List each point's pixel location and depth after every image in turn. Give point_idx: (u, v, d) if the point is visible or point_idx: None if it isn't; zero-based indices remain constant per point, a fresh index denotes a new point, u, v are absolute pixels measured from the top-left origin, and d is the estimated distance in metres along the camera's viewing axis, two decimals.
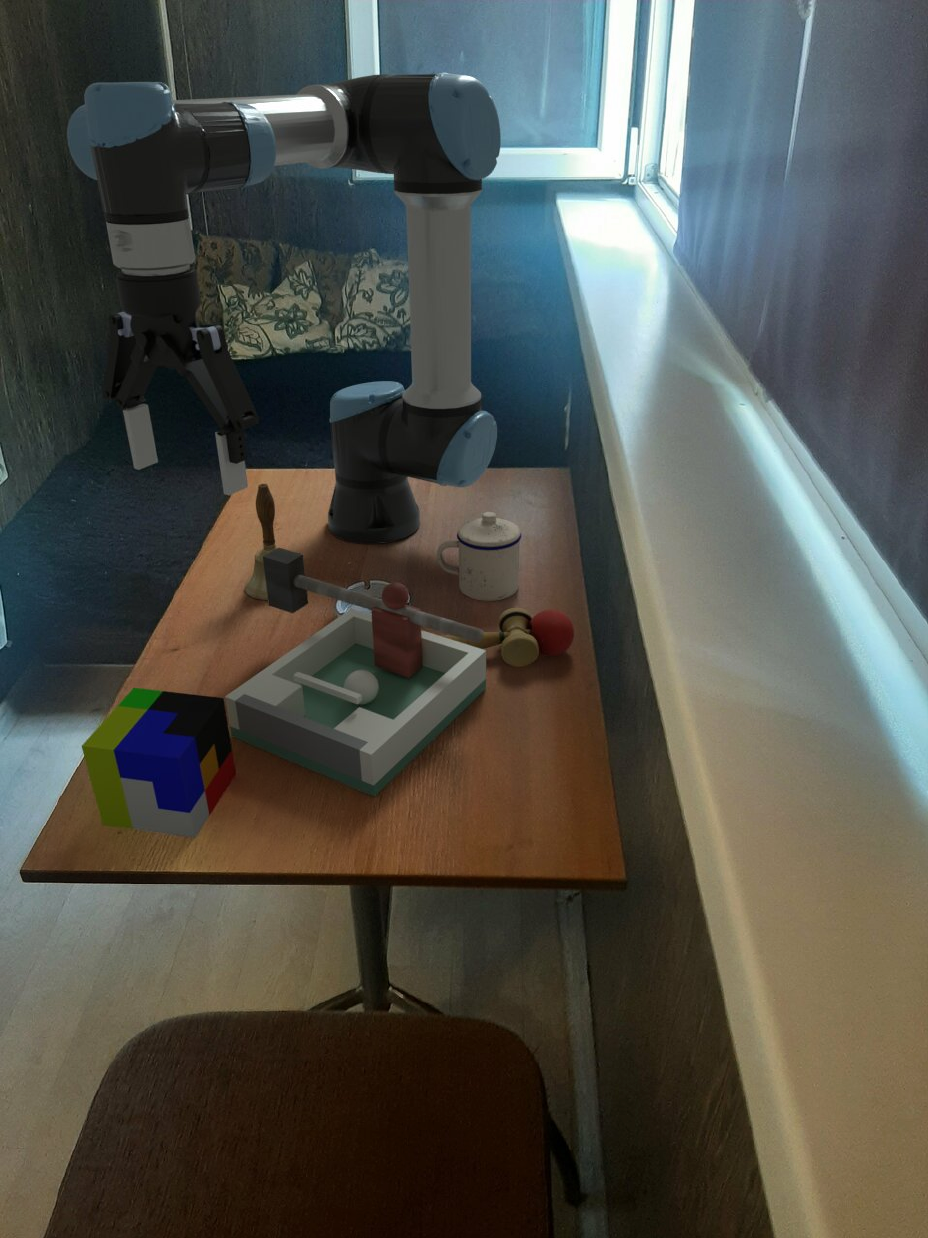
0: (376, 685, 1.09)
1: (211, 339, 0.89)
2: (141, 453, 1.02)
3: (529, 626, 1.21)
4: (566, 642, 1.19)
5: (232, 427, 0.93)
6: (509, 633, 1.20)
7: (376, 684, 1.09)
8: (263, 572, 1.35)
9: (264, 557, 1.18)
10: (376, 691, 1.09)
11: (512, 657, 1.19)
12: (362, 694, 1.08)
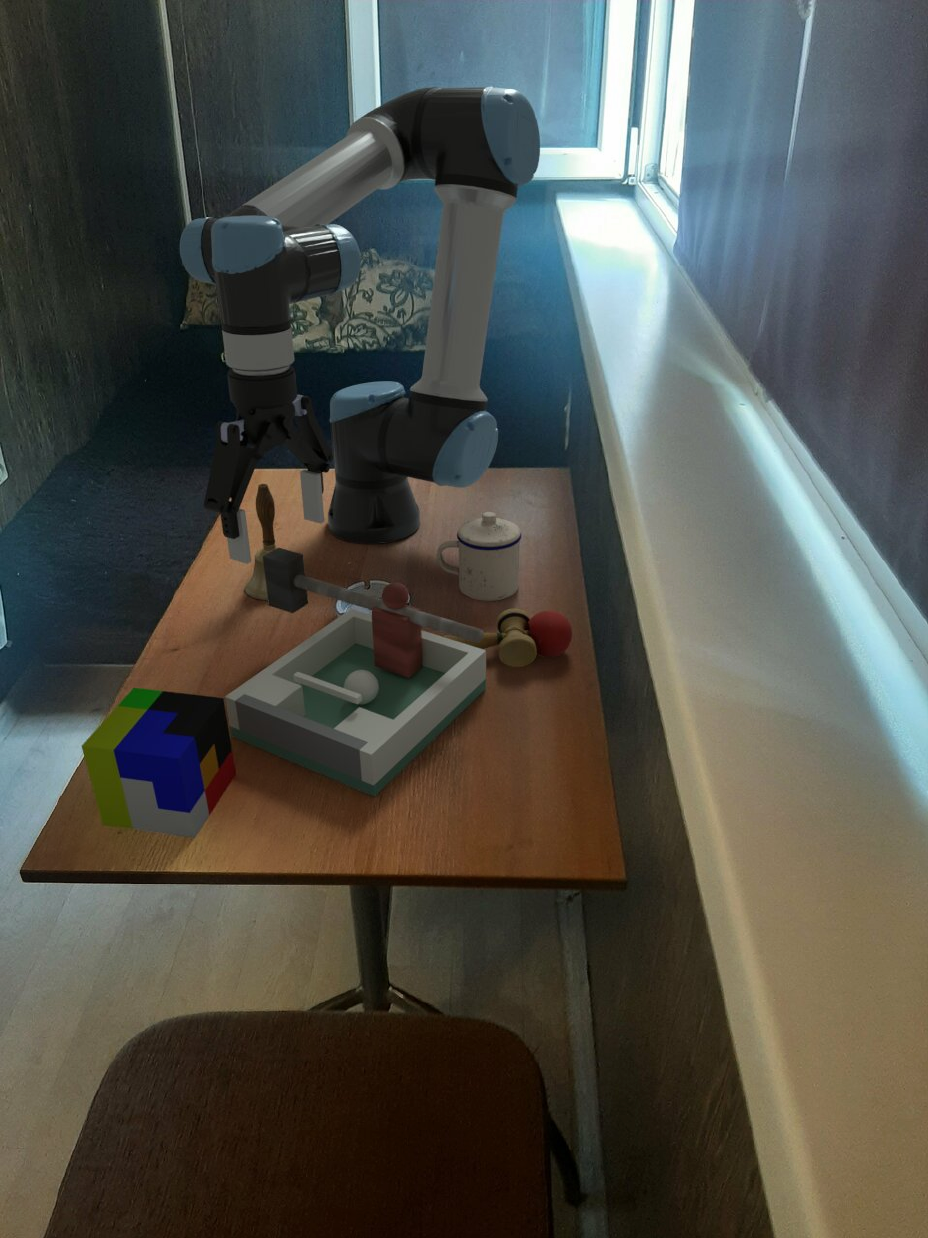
0: (376, 685, 1.09)
1: (220, 432, 1.04)
2: (307, 508, 1.21)
3: (527, 627, 1.21)
4: (564, 643, 1.19)
5: None
6: (507, 634, 1.20)
7: (376, 684, 1.09)
8: (263, 572, 1.35)
9: (264, 557, 1.18)
10: (376, 691, 1.09)
11: (510, 658, 1.19)
12: (362, 694, 1.08)
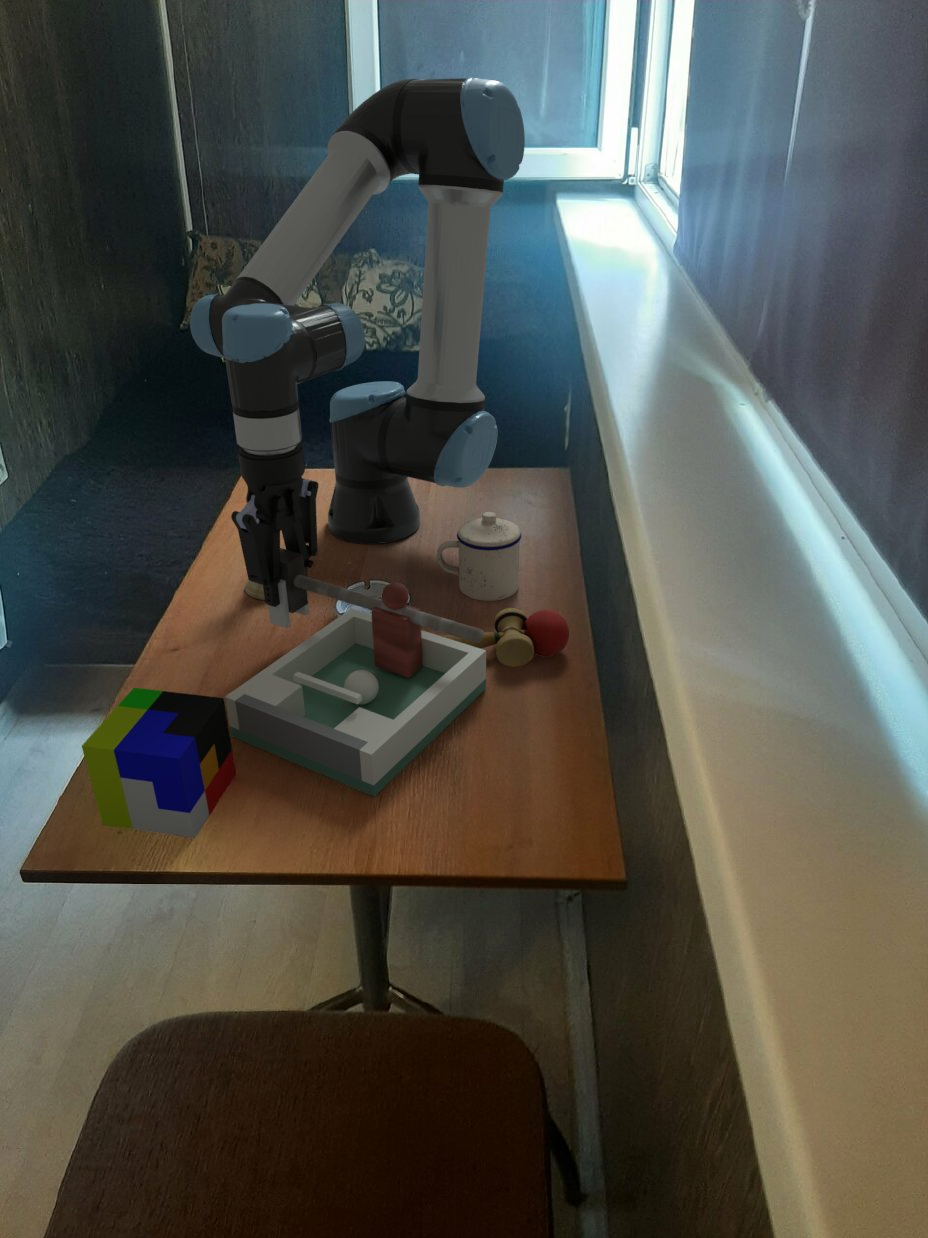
0: (376, 685, 1.09)
1: (237, 523, 1.10)
2: None
3: (524, 626, 1.21)
4: (561, 642, 1.19)
5: None
6: (504, 633, 1.20)
7: (376, 684, 1.09)
8: None
9: None
10: (376, 691, 1.09)
11: (507, 657, 1.19)
12: (362, 694, 1.08)
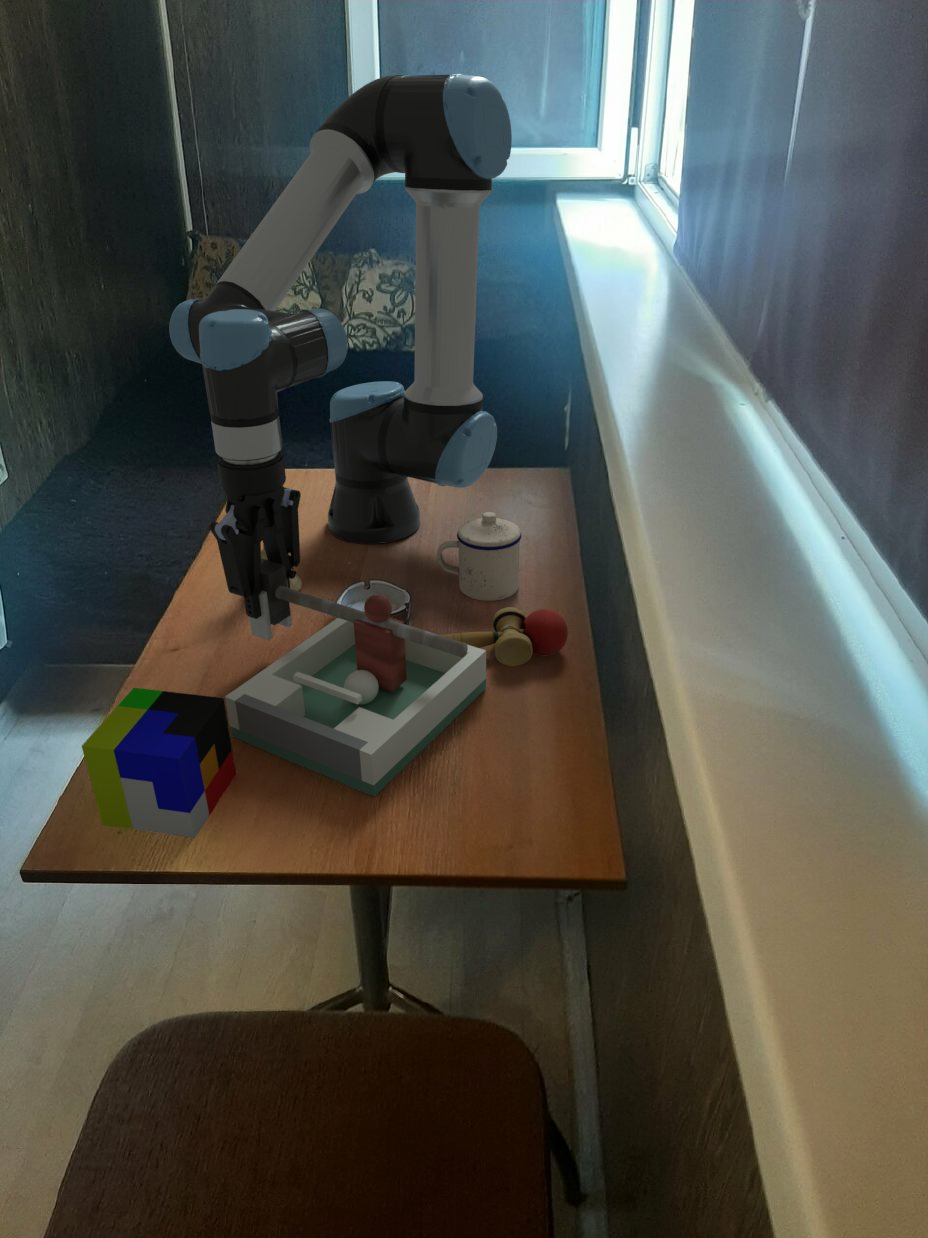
0: (376, 685, 1.09)
1: (216, 534, 1.08)
2: None
3: (523, 626, 1.21)
4: (560, 641, 1.19)
5: None
6: (503, 633, 1.20)
7: (376, 684, 1.09)
8: None
9: None
10: (376, 691, 1.09)
11: (506, 657, 1.19)
12: (362, 694, 1.08)
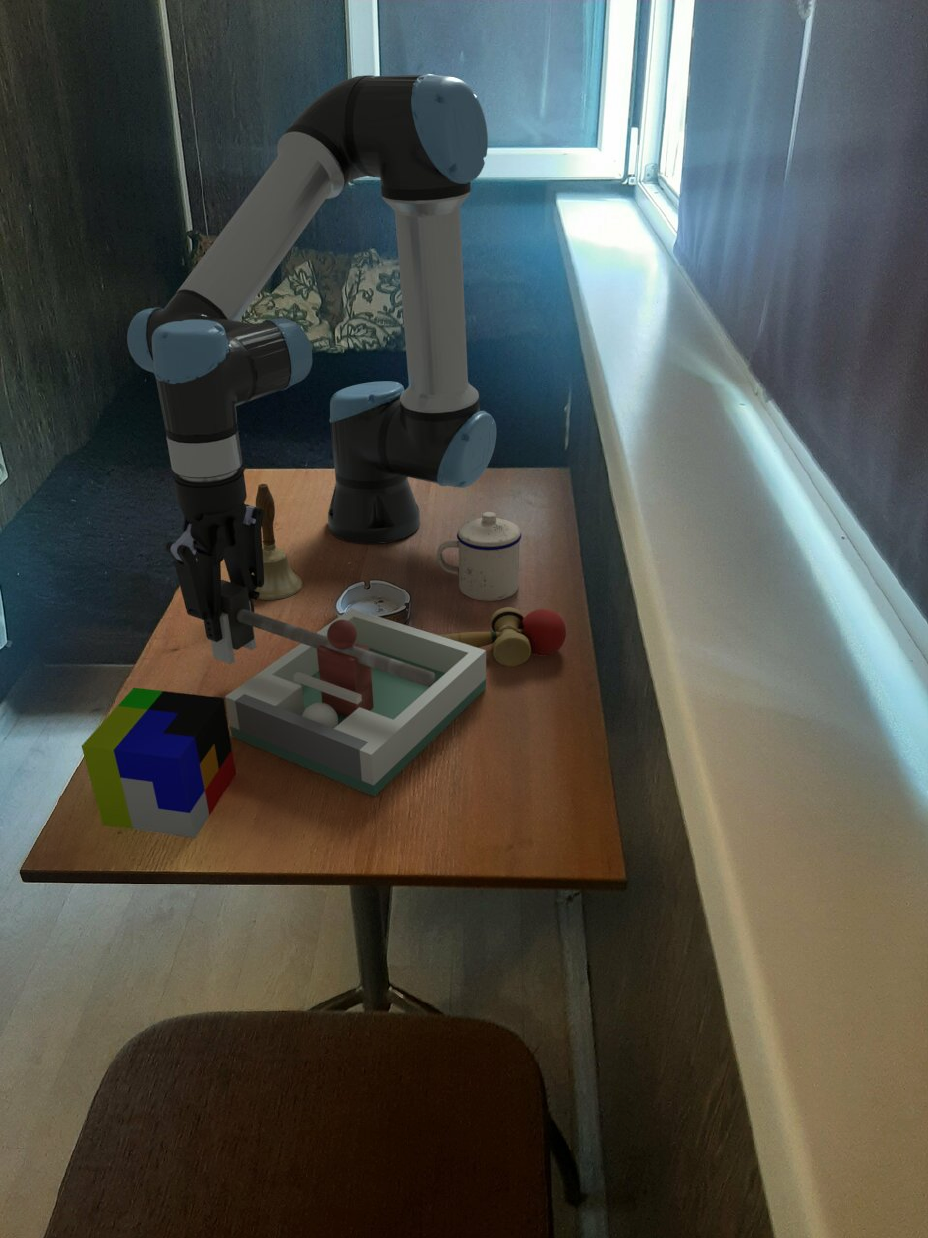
0: None
1: (172, 554, 1.03)
2: None
3: (521, 626, 1.21)
4: (558, 641, 1.19)
5: None
6: (501, 633, 1.20)
7: None
8: None
9: None
10: None
11: (504, 657, 1.19)
12: (336, 714, 1.04)
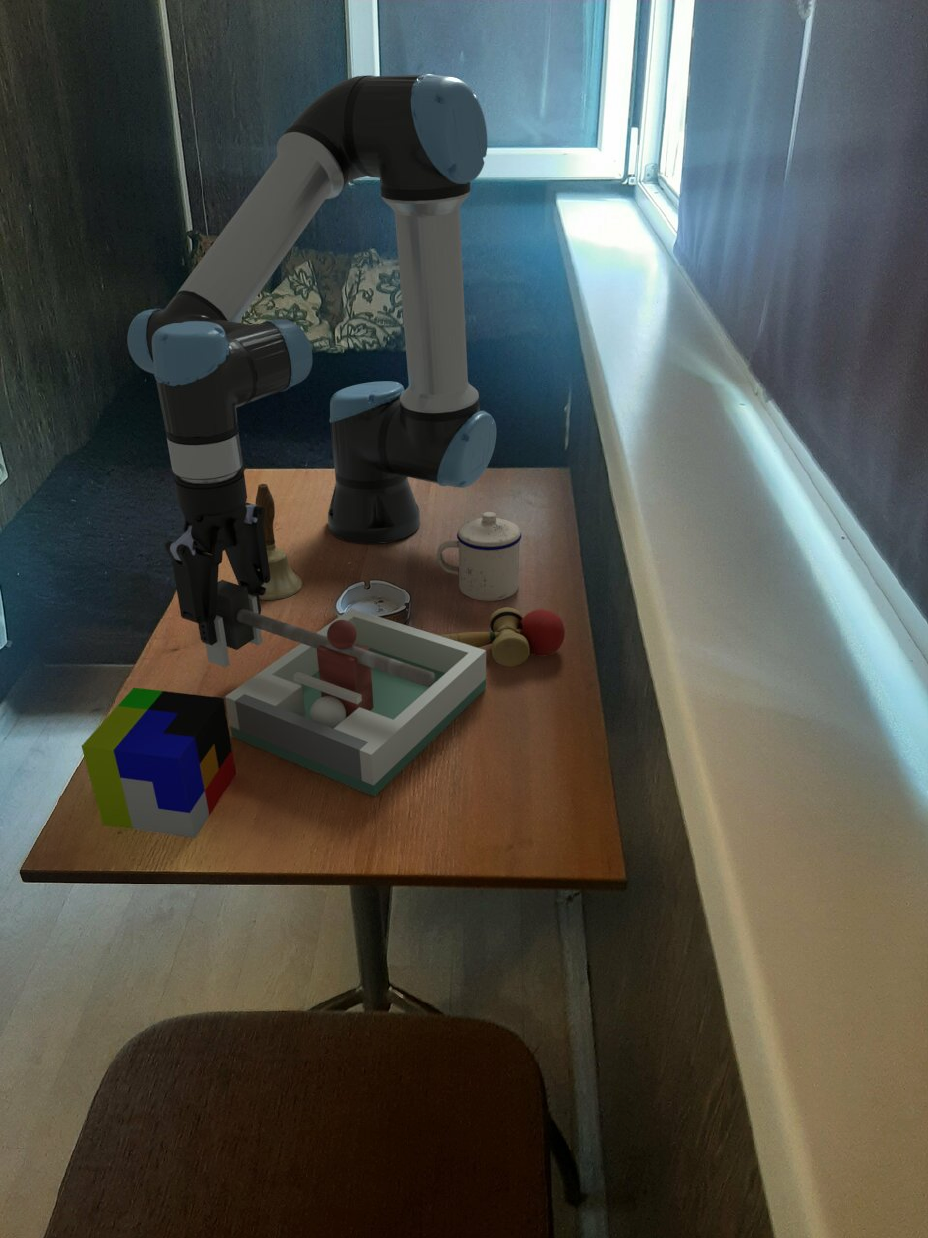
0: None
1: (171, 553, 1.02)
2: None
3: (520, 626, 1.21)
4: (557, 641, 1.19)
5: None
6: (500, 633, 1.20)
7: None
8: None
9: None
10: (340, 719, 1.04)
11: (503, 657, 1.19)
12: None
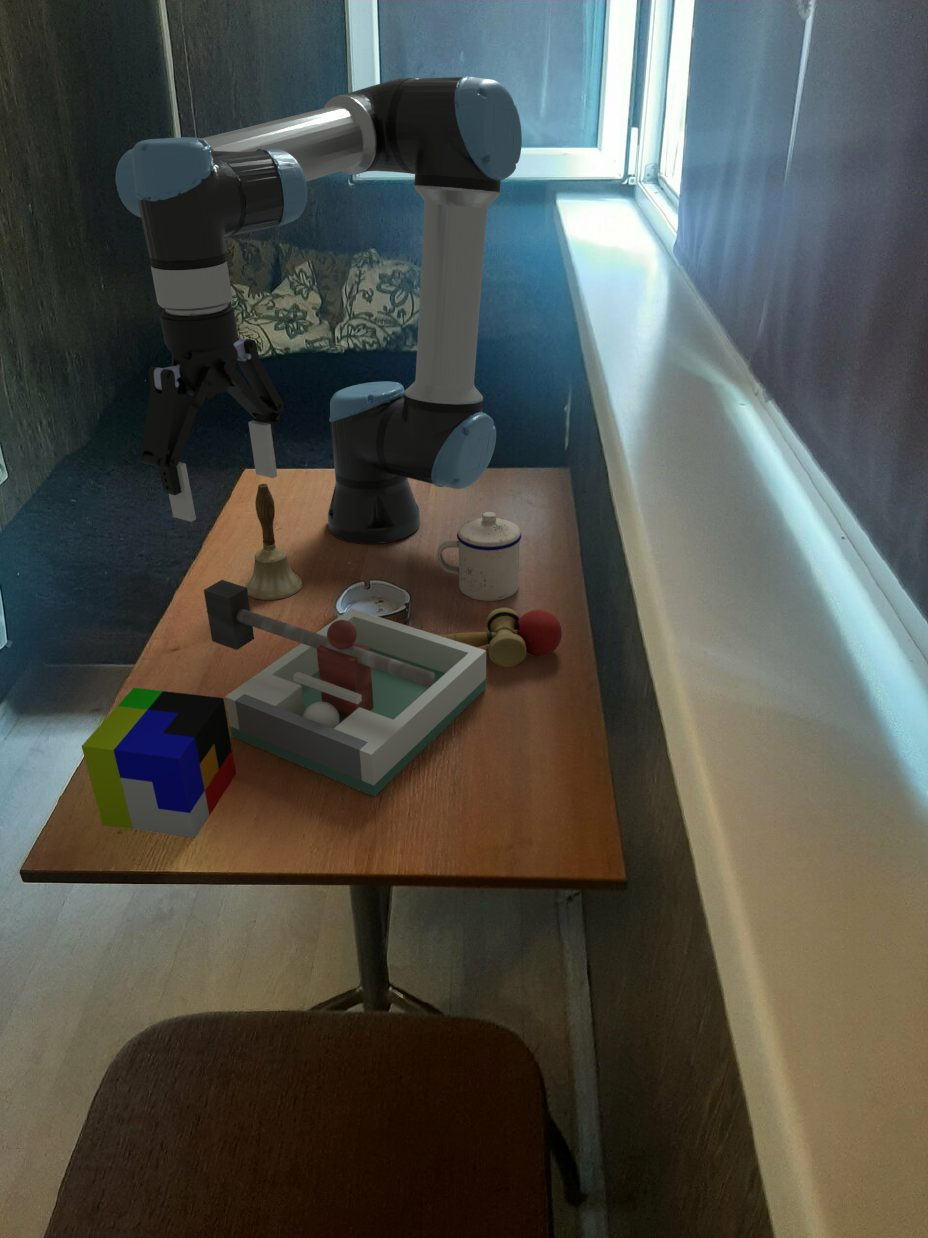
0: None
1: (153, 378, 0.96)
2: (258, 462, 1.13)
3: (517, 626, 1.21)
4: (554, 642, 1.19)
5: None
6: (497, 633, 1.20)
7: None
8: (263, 572, 1.35)
9: (205, 591, 1.10)
10: (333, 726, 1.03)
11: (500, 657, 1.19)
12: (338, 714, 1.04)
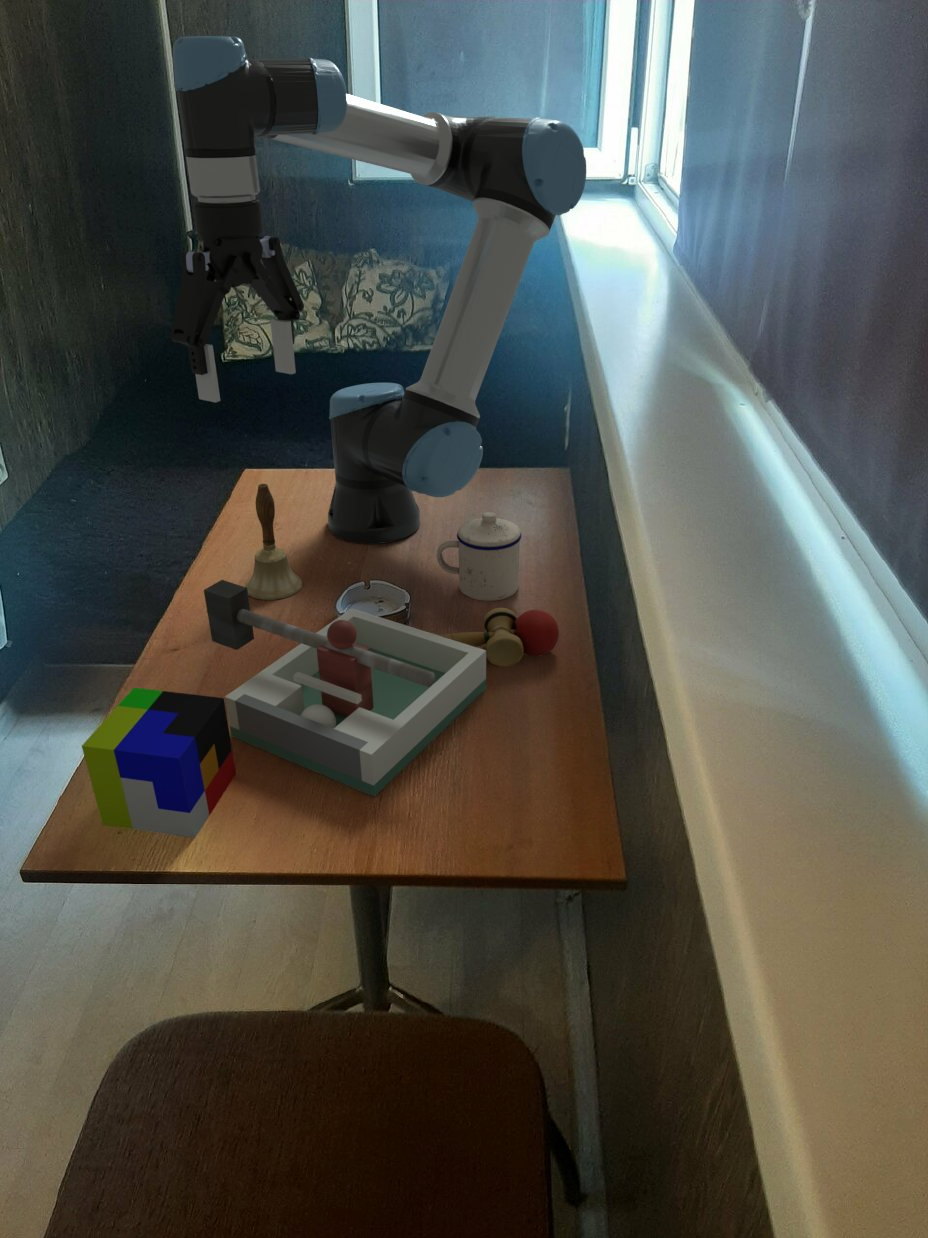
0: None
1: (185, 261, 1.04)
2: (278, 359, 1.21)
3: (514, 626, 1.21)
4: (551, 642, 1.19)
5: None
6: (494, 633, 1.20)
7: None
8: (263, 572, 1.35)
9: (205, 591, 1.10)
10: None
11: (497, 657, 1.19)
12: None
